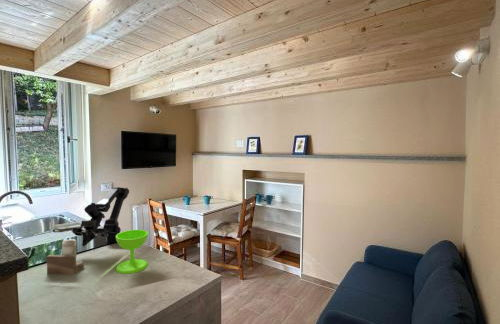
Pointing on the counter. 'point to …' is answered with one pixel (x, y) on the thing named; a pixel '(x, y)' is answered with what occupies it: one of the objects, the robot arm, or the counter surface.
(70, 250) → the roll carriage
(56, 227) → the dish towel
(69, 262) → the roll holder
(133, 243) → the wineglass
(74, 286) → the counter surface
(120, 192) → the robot arm
